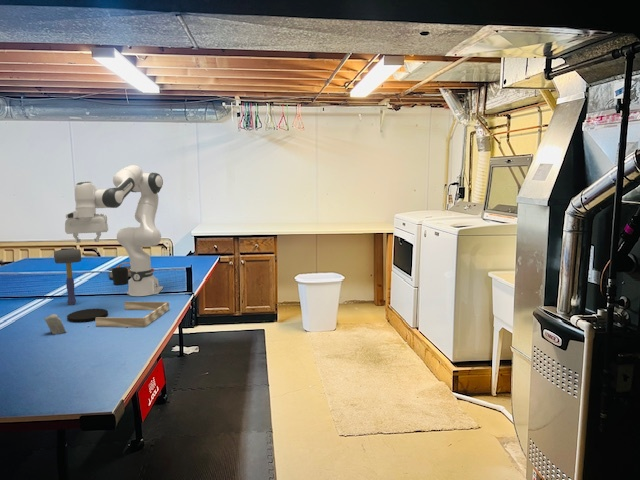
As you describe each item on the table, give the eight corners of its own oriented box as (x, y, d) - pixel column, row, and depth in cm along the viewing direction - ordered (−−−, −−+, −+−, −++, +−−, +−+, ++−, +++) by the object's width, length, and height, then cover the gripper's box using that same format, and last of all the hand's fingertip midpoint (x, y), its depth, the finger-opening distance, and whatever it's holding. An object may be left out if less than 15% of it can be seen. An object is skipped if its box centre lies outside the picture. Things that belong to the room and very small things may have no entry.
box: (125, 309, 237) (125, 301, 236) (169, 309, 235) (168, 302, 235) (95, 326, 209) (95, 317, 209) (144, 327, 208) (144, 318, 207)
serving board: (109, 271, 339) (108, 263, 338) (142, 268, 348) (142, 260, 348) (109, 281, 304) (108, 272, 303) (146, 278, 313) (145, 269, 313)
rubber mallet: (85, 301, 253) (80, 247, 249) (84, 304, 247) (80, 249, 243) (59, 304, 248) (54, 249, 244) (58, 307, 241) (53, 251, 237)
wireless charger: (114, 312, 233) (113, 308, 233) (98, 323, 216) (98, 318, 215) (78, 312, 233) (78, 308, 232) (59, 323, 215) (59, 319, 215)
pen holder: (131, 282, 300) (130, 267, 298) (124, 285, 291) (123, 270, 289) (117, 282, 301) (116, 267, 299) (109, 285, 291) (108, 269, 290)
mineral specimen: (59, 326, 207) (60, 310, 205) (67, 334, 202) (68, 317, 200) (41, 330, 202) (42, 313, 200) (49, 338, 196) (50, 321, 195)
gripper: (109, 213, 229) (111, 241, 230) (69, 215, 230) (71, 243, 231) (103, 213, 223) (104, 241, 223) (62, 215, 224) (63, 243, 224)
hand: (87, 242), depth 227 cm, fingers open, 8 cm apart
